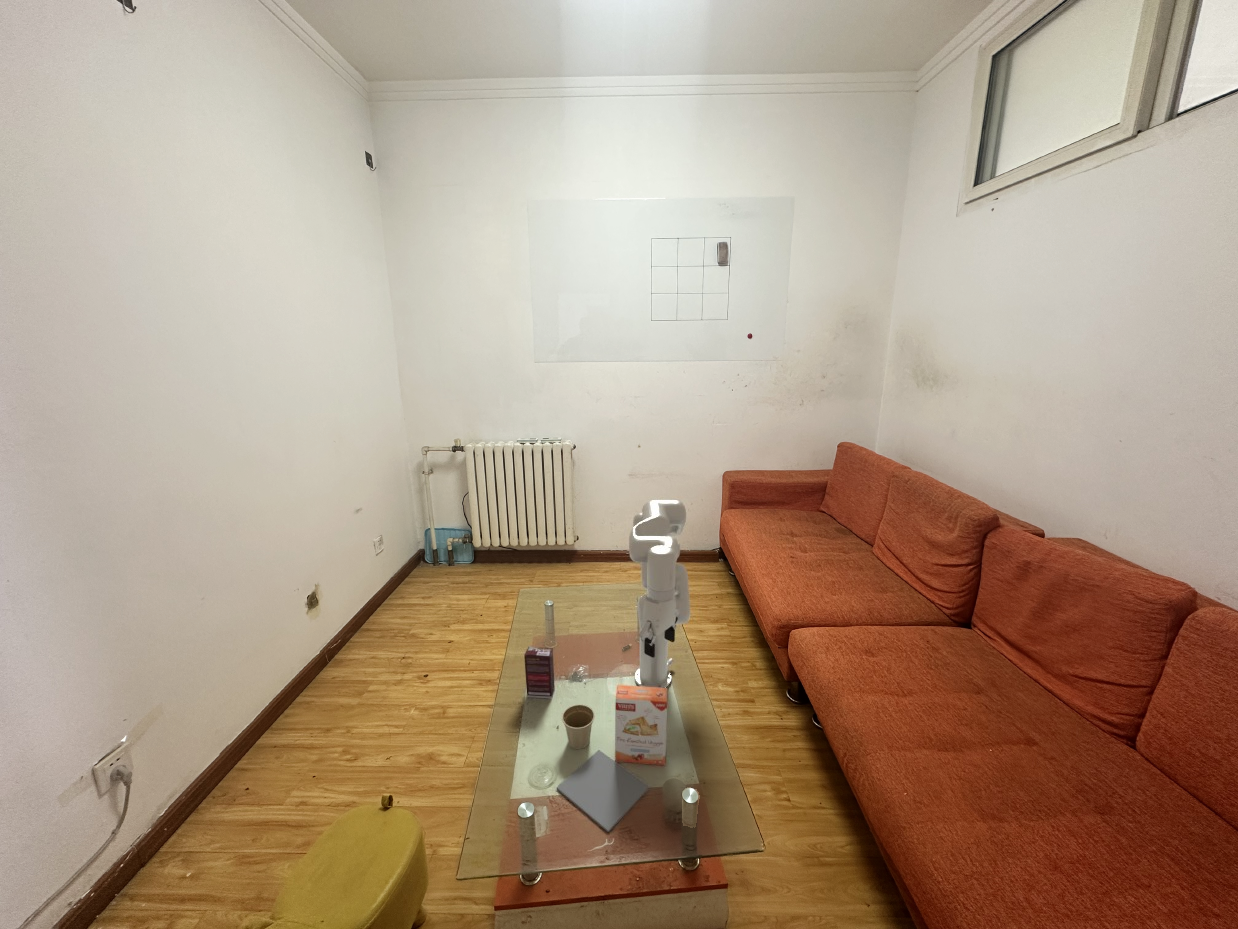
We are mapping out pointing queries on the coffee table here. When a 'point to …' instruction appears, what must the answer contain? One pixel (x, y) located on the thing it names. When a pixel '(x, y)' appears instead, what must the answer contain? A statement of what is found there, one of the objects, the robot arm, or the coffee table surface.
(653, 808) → the coffee table surface
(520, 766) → the coffee table surface
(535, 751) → the coffee table surface
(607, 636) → the coffee table surface
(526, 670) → the supplement box
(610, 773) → the mat
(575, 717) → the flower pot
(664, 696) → the cracker box
